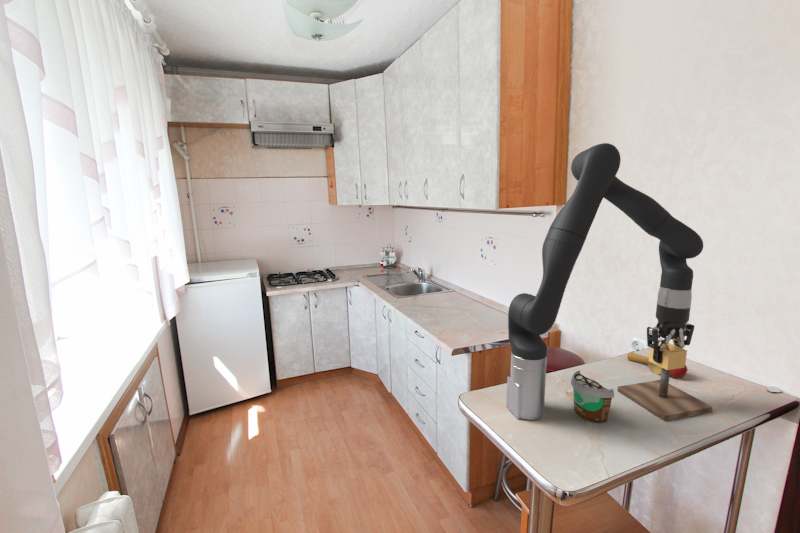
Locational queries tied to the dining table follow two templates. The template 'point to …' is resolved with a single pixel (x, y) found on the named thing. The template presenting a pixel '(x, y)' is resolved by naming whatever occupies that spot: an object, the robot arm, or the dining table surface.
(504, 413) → the dining table surface
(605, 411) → the food container
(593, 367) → the dining table surface
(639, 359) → the kendama
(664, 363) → the tan hollow square block
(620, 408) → the dining table surface
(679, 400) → the needle stand
